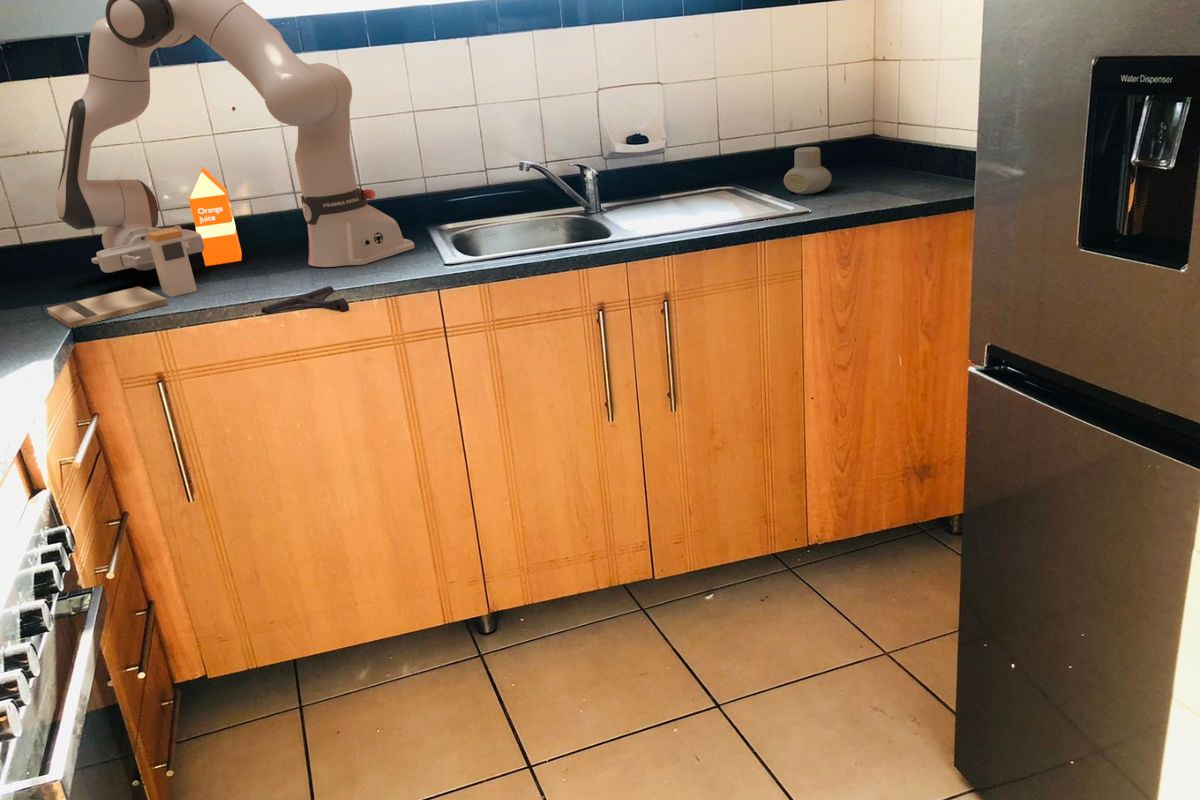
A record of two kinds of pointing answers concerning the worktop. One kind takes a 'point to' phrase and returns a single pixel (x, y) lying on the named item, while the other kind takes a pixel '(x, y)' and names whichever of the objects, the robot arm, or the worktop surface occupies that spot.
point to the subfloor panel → (106, 306)
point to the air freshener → (807, 172)
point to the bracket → (309, 302)
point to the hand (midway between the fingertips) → (163, 256)
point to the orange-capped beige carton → (171, 262)
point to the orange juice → (214, 220)
